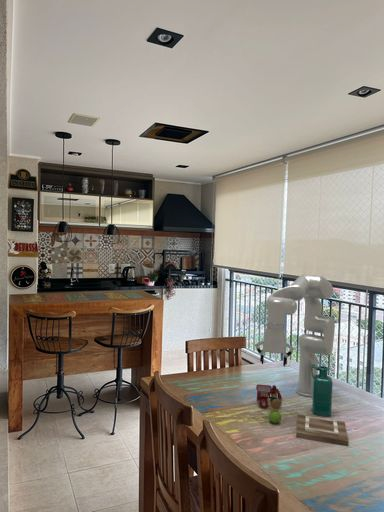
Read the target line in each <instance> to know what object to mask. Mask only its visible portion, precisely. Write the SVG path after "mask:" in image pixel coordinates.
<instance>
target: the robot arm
mask: <svg viewBox="0 0 384 512" xmlns="http://www.w3.org/2000/svg"><path fill="white" fill-rule="evenodd" d="M333 294H334V287H333V285H332V283H331V282H330V281H329V280H328V279H327V278H326V277H325V276H322V275H317V274H301V275H299V276H298V277H297V278H296V279H295V280H294V281H293V282H292V283H291V284H290V285H288V286H285V287H282V288H279V289H276V290H275V291H273V292H272V293H271V294H270V295H269V296H268V297H267V299H266V302H265V307H266V310H267V322H264V323H263V326H264V327H266V328H265V329H264V333H263V340H261V341H260V342H257V343H255V344H254V347H255V350H256V351H257V352H258V354H260V357H259V361H260V363H261V365H264V361H265V360H264V358H265V357H264V356H265V353H272V354H283V361H282V363H283V365H282V366H283V367H286V365H287V364H288V357H289V356H291V355H292V353H293V352H294V350H295V347H293V346H292V345H290V344H288V343H287V333H286V330H285V315H287V316H291V315H294V314H295V313H296V312H297V310H298V303H297V302H298V301H301V300H304V302H305V310H304V311H305V312H304V319H303V328H304V330H305V331H308V332H311V333H303V334H301V335H300V336H299V338H298V348H299V349H298V350H299V367H298V369H299V371H298V372H299V373H298V386H297V387H295V392H296V393H297V394H298V395H300V396H303V397H312V398H313V381H314V378H313V377H312V372H311V365H312V364H315V365H316V366H317V367H319V359H318V357H317V355H321V356H330V355H331V354H332V353H333V350H334V349H333V348H334V340H335V332H336V331H335V329H336V323H335V319H334V318H333V317H331V316H328V315H323V314H322V313H323V311H322V310H323V305H322V302H321V301H320V299H323V300H324V299H325V300H329V299H331V298H332V296H333ZM312 333H317V334H312ZM318 334H322V335H318ZM259 346H262V349H261V348H260V347H259ZM287 348H288V349H289V351H287ZM316 354H317V355H316ZM313 373H314V375H319V370H316V369H315V368H313Z"/></svg>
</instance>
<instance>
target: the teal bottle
mask: <svg viewBox="0 0 384 512" xmlns="http://www.w3.org/2000/svg"><path fill="white" fill-rule="evenodd" d="M313 368H315V369H316V370H318V375H314V373H313ZM329 370H330V367H328V366H325V365H318V367H317V366H316V365H315V364H312V365H311V372H312V377H313V378H314V381H313V397H312V409H311V413H312V415H315V416H320V417H328V418H329V417H331V416H332V407H333V405H332V404H333V378H332V376H329V375H328V371H329Z"/></svg>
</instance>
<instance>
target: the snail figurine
mask: <svg viewBox="0 0 384 512" xmlns="http://www.w3.org/2000/svg"><path fill="white" fill-rule="evenodd" d="M268 397H269V396H268ZM267 401H268V408H269V409H270V410H269V411H270V412H269V413H268V419H269V421H270V422H271V423H273V424H278V423H279V422H281V419H282V414H281V412H280V410H281V409H282V408H281V407H282V403H281V402H280V401H279V400H278V398H277V399H274V400H273V401H272V402H270V401H271V399H270V398H268V399H267Z"/></svg>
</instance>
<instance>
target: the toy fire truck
mask: <svg viewBox="0 0 384 512" xmlns="http://www.w3.org/2000/svg"><path fill="white" fill-rule="evenodd" d="M255 387H256V402H257V403H258V404H259V407H260V408H261V409H267V407H269V405H268V401H267V399H268V398H270V399H271V401H270V402H272V401H273V400H274V399H278V400H279V401H280V402H281V404H282V402H283V397H282V394H281V393H280V391H279V388H277V386H276V385H275V384H274V385H270V384H260V383H259V384H256V386H255ZM268 396H269V397H268Z"/></svg>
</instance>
